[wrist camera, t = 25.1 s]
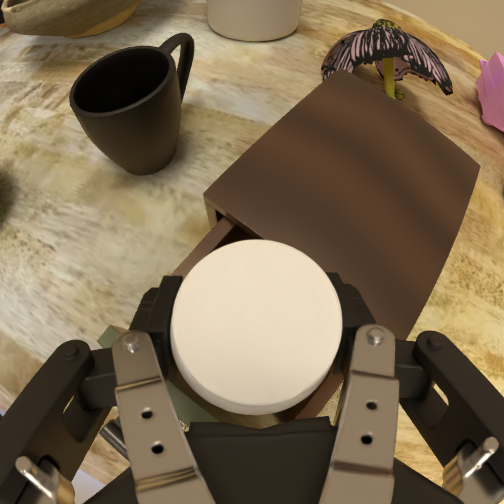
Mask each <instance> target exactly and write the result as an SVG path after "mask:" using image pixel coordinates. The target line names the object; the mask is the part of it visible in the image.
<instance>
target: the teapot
mask: <svg viewBox="0 0 504 504" xmlns="http://www.w3.org/2000/svg"><path fill="white" fill-rule="evenodd" d="M480 66H481V75H480V76H479V78H478V79H477V81H476V86H477V89H478V93H479V95H478V96H477V98H478V100H479V101H480V102H481V105H482V110H483V115H482V116H481V117H482V119H483V121H484V122H485V123H486V124H487V125H489V126H491V125H493V126H495V127H496V128H498V129H499V130H501V131H502V132H504V56H502V55H501V54H499V53H498V52H495V53H494V55H493V56H492V58H491V59H490V61H489V62H487V61H484V60H481V59H480Z"/></svg>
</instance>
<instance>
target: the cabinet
mask: <svg viewBox="0 0 504 504" xmlns="http://www.w3.org/2000/svg"><path fill="white" fill-rule="evenodd" d="M479 170H480V165H479V164H478V163H477V162H476V161H475V160H473V159H472V158H471V157H470V156H469V155H468V154H467V153H465V152H464V151H463V150H462V149H461V148H460V147H458V146H457V145H456V144H455V143H453V142H452V141H451V140H450V139H448V138H447V137H446V136H445V135H443V134H442V133H441V132H440V131H438V130H437V129H436V128H434V127H433V126H432V125H430V124H429V123H428V122H426V121H425V120H424V119H422V118H421V117H419V116H418V115H417V114H415V113H414V112H412V111H411V110H410V109H408V108H407V107H405V106H404V105H402V104H401V103H399V102H398V101H396V100H395V99H393V98H392V97H390V96H389V95H387V94H385V93H384V92H382V91H381V90H379V89H377V88H376V87H374V86H372V85H371V84H369V83H367V82H366V81H364V80H362V79H361V78H359V77H357V76H355V75H354V74H352V73H350V72H348V71H347V70H345V69H343V68H339V69H338V70H337V71H336V72H334V73H333V74H332V75H331V76H329V77H328V78H327V79H326V80H325V81H324V82H322V83H321V84H320V85H319V86H318V87H316V88H315V89H314V90H313V91H312V92H311V93H309V94H308V95H307V96H306V97H305V98H304V99H303V100H301V101H300V102H299V103H298V104H297V105H296V106H295V107H294V108H292V109H291V110H290V111H289V112H288V113H287V114H286V115H285V116H283V117H282V118H281V119H280V120H279V121H278V122H277V123H276V124H275V125H274V126H272V127H271V128H270V129H269V130H268V131H267V132H266V133H265V134H264V135H263V136H262V137H261V138H260V139H258V140H257V141H256V142H255V143H254V144H253V145H252V146H251V147H250V148H249V149H248V150H247V151H246V152H245V153H244V154H243V155H242V156H241V157H240V158H239V159H237V160H236V161H235V162H234V163H233V164H232V165H231V166H230V167H229V168H228V169H227V170H226V171H225V172H224V173H223V174H222V175H221V176H220V177H219V178H218V179H217V180H216V181H215V182H214V183H213V184H212V185H211V186H210V187H209V188H208V189H207V190H206V191H205V192H204V193H203V197H204V201H205V205H206V210H207V214H208V219H209V223H210V228H211V230H212V229H213V228H214V227H215V226H216V225H217V223H218V222H219V221H220V220H221V219H222V218H223V217H224V216H225V217H227V218H228V219H229V220H231V221H232V222H234V223H235V224H236V225H238V226H239V227H240V228H242V229H243V230H244V231H246V232H247V233H248V234H250V235H251V236H252V237H254V238H255V239H257V240H270V241H275V242H279V243H283V244H286V245H288V246H291V247H293V248H295V249H297V250H299V251H301V252H303V253H304V254H305V255H307V256H308V257H309V258H311V259H312V260H313V261H314V262H315V263H316V264H317V265H318V266H320V268H321V269H322V270H323V271H324V272H337V273H338V274H339V276H340V278H341V280H342V282H343V283H344V284H347V283H350V284H351V285H352V286H354V287H355V288H356V289H358V290H359V292H360V294H361V296H362V297H363V299H364V301H365V303H366V305H367V306H368V308H369V310H370V312H371V313H372V315H373V317H374V319H375V321H376V322H377V324H378V325H382V326H384V327H386V328H388V329H389V330H391V331H392V333H393V334H394V336H395V339H398V340H405V341H406V339H407V337H408V336H409V334H410V332H411V330H412V328H413V327H414V325H415V323H416V321H417V319H418V317H419V316H420V314H421V312H422V310H423V308H424V306H425V304H426V302H427V300H428V298H429V296H430V294H431V292H432V290H433V288H434V286H435V284H436V282H437V280H438V278H439V275H440V273H441V271H442V269H443V267H444V264H445V262H446V260H447V258H448V255H449V253H450V251H451V248H452V246H453V243H454V241H455V238H456V236H457V233H458V231H459V228H460V226H461V223H462V220H463V218H464V215H465V212H466V210H467V207H468V204H469V201H470V198H471V195H472V192H473V189H474V186H475V183H476V180H477V176H478V173H479Z"/></svg>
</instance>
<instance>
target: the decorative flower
mask: <svg viewBox="0 0 504 504" xmlns="http://www.w3.org/2000/svg"><path fill="white" fill-rule="evenodd" d="M373 61H375V64H376V67H377V69H378V72H379V74H380V76H381V77H382V78H383V79H384V88H385V94H387V95H389V96H390V97H392V98H393V99H395V100H396V98H398V99H403V98H404V96H405V94H404V92H403V91H402V90H396V92H395V84H394V81H400V80H403V79H402V77H403V76H404V75H407V73H412V74H414V75H418V76H419V78H424V79H425V81H428V80H430V81H432V82H433V83H434V84H435V86H436V81H437V83H438V85H439V87H440V88H441V90H442V91H443V92H444V93H445V94H446V96H447V95H448V94H449V95H450V94H452V93H453V91H452V88H453V87H452V82H451V80H450V78H449V75H448V73H447V71H446V69H445V68H444V66H443V64H442V63H441V61H440V60H439V58H438V57H437V56H436V54H435V53H434V52H433V51H432V50H431V49H430V48H429V47H428V46H427V45H426V44H424V43H423V42H422V41H420V40H419V39H418V38H416V37H414V36H412V35H410V34H407V33H405V32H403V31H401V28H400V27H397V26H396V24H395V23H394V22H392V21H389V20H384V19H379V20H377V21H376V23H374V24H373V26H372V28H370V29H367V30H359V31H356V32H352V33H350V34H348V35H346V36H344V37H343V38H341V39H340V40H339V41H338V42H337V43H335V44H334V46H333V47H332V48H331V49H330V51H329V52H328V54H327V56H326V57H325V59H324V61H323V64H322V68H321V70H322V71H323V70H324V69H325V68H326V67H327V68H326V70H325V73H324V76H323V79H322V80H323V81H324V80H326V79H327V78H328V77H329V76H331V75H332V74H333V73H334V72H336V71H337V70H338V69H339V68H343V69H345V70H347V71H348V72H350V73H352V74H353V73H354V71H355V69H356V68H357V66H359V65H360V64H361V63H363V64H364V65H366V64H367V63H368V64H373Z"/></svg>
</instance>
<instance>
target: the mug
mask: <svg viewBox="0 0 504 504" xmlns="http://www.w3.org/2000/svg"><path fill="white" fill-rule="evenodd" d="M179 45H181V50H180V58H179V63H178V68H177V71H176V65H175V61H174V59H173V58H172V56H171V55H170V54H171V53H172V51H173V50H174V49H175V48H176V47H177V46H179ZM193 57H194V40H193V38H192V37H191V36H190V35H189V34H187V33H179V34H176V35H174V36H172V37H170V38H169V39H168V40H166V41H165V42H164V43H163V44H162V45H161V46H160V47H159V48H158V47H153V46H135V47H128V48H125V49H121V50H118V51H115V52H113V53H110V54H108V55H106V56H104V57H102V58H100V59H99V60H97V61H96V62H94V63H93V64H91V65H90V66H89V67H88V68H87V69H85V70H84V71H83V72H82V73H81V74H80V76H79V77H78V78H77V79H76V81H75V82H74V84H73V86H72V88H71V91H70V95H69V100H70V106H71V108H72V110H73V112H74V113H75V115H76V117H77V119H78V121H79V122H80V124H81V126H82V127H83V129H84V131H85V132H86V134H87V136H88V137H89V138H90V140H91V141H92V142H93V143H94V144H95V145H96V146H97V147H98V148H99V149H100V150H101V151H102V152H103V153H104V154H105V155H106V156H108V157H109V158H110V159H111V160H113V161H114V162H115V163H117V164H118V165H120V166H121V167H122V168H124V169H125V170H126V171H127V172H129V173H131V174H134V175H149V174H153V173H155V172H158V171H159V170H161V169H163V168H164V167H165V166H166V165H167V164H169V162H170V161H171V160H172V158H173V157H174V155H175V152H176V147H177V139H178V134H179V128H180V121H181V104H182V100H183V96H184V93H185V89H186V85H187V81H188V77H189V74H190V70H191V66H192V62H193Z"/></svg>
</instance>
